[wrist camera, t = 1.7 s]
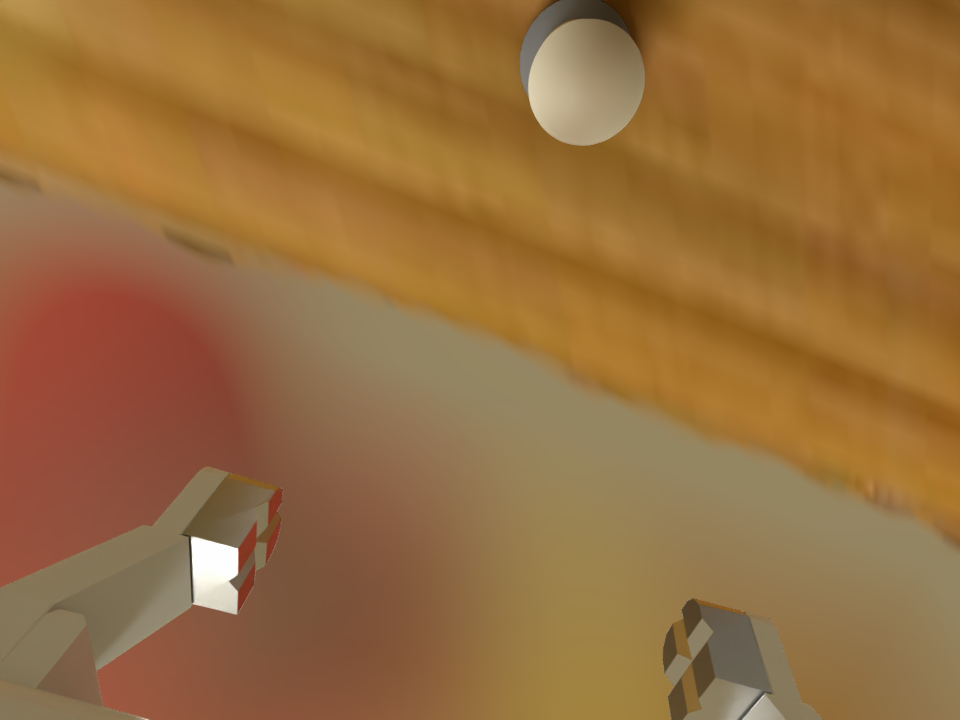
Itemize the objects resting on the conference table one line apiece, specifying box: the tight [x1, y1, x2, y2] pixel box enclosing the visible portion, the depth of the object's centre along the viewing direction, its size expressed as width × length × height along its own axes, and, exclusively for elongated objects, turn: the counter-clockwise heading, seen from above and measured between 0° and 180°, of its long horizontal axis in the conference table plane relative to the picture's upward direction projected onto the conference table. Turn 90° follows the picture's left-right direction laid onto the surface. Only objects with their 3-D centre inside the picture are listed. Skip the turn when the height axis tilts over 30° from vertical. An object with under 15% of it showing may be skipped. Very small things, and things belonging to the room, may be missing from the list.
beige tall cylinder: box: [520, 0, 645, 145], centre depth 26 cm, size 6×6×14 cm
